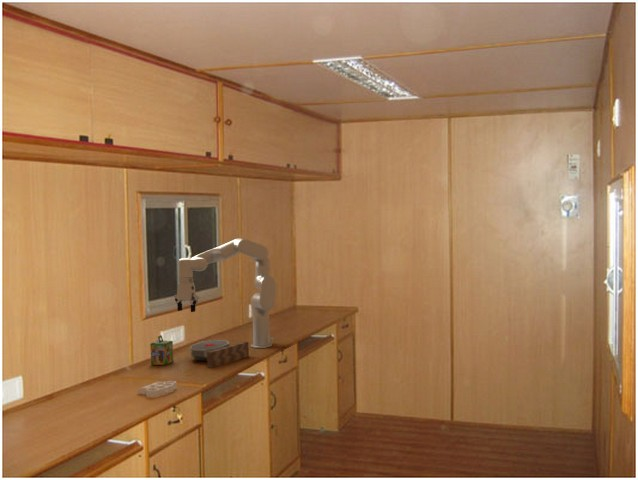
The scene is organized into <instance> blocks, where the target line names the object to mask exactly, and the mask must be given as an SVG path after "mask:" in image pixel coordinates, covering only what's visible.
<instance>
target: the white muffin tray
mask: <svg viewBox="0 0 638 480" xmlns="http://www.w3.org/2000/svg"><path fill="white" fill-rule="evenodd" d="M177 384H178V383H177V381H176V380H166V381H154V382H153V383H150V384H147V385H145V386H143V387H139V388H138V389H137V393H138V394H139V395H146V398H158V397H160V396H161V397H162V396H166V395H168V394H170V393H173V392H174V391H176V390H177V389H178V387H177V386H178V385H177Z"/></svg>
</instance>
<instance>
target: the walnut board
mask: <svg viewBox="0 0 638 480" xmlns="http://www.w3.org/2000/svg"><path fill="white" fill-rule="evenodd" d="M229 345H230V344H229ZM249 351H250V349H249V341H240V342H236V343H235V344H231V345H230V346H226V347H223V348H219V349H216V350H212V351H208V352H207V368H210V369H212V368H216V367H218V366H222V365H225V364H228V363H232V362H235V361H239V360H241V359H245V358H248V357H249V355H250V354H249Z"/></svg>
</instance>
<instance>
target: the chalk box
mask: <svg viewBox="0 0 638 480" xmlns="http://www.w3.org/2000/svg"><path fill="white" fill-rule="evenodd" d="M157 339H158V340H156V341H153V342H151V343H150V344H149V345H150V365H151V366H168V365H169V364H172V363H174V344H173V343H174V342H173V341H172V340H164V338H163V335H161V334H160V335H159V336H158V337H157Z"/></svg>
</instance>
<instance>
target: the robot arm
mask: <svg viewBox="0 0 638 480" xmlns="http://www.w3.org/2000/svg"><path fill="white" fill-rule="evenodd" d="M239 254H243V255H246V256H248V257H249V258H251V259H252V260H253V263H254V265H255V266H254V267H255V270H254V281H253V283H254V284H253V285H254V287H255V289H257V290H258V291H260V292H256V293H254V294H253V295H252V296H251V300H250V305H251V311H252V337H253V338H252V340H253V341H252V343H251V344H250V347H251V348H254V349H266V348H270V347H272V346H273V343H272V341H274V340H275V339H274V337H273V336H272V337H270V313H269V311H271V310H272V309H273V308H274V306H275V302H276V294H277V293H276V292H277V282H276V280H275V278H274V277H273V276H271V264H270V260H269V257H268V256H269V250H268V248H267V247H266V246H265V245H263V244H260V243H258V242H254V241H252V240H250V239H246V238H240V237H237V238H235V239H231V241H228V242H226V243H223V244H222V245H219V246H217V247H213V248H212V249H209V250H206V251H204V252H201V253H199V254H197V255H194V256H192V257H191V258H190V257H189V258H187V257H185V258H183V257H182V258H180V259H178V283H177V291H176V292H177V293H176V294H174V295H173V298H174V301H175V302H176V304H177V305H176V306H177V312H180V311H183V303H182V302H189V303H190V313H194V312H196V305H197V303H198V301H199V298H200V297H199V296H198V295H196V286H195V283H194V281H195V280H194V276H193V274H194V272H193V271H196V272H202V271H205V270H206V269H207V268H208V265H210V264H214V263H218V262H224V261H227V260H228V259H230V258H232V257H235V256H237V255H239Z"/></svg>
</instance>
